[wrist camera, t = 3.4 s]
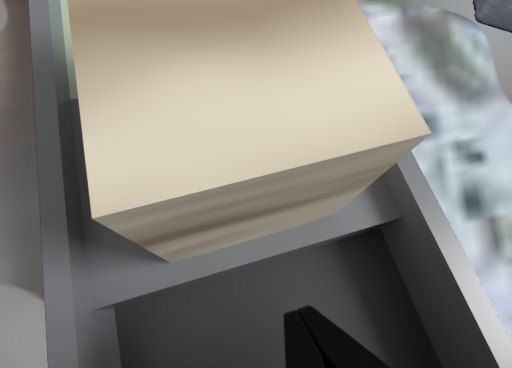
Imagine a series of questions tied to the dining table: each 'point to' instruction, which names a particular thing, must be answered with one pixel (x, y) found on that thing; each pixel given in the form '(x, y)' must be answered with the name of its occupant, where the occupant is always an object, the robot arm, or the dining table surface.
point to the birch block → (232, 116)
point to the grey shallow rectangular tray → (245, 265)
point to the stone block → (494, 13)
